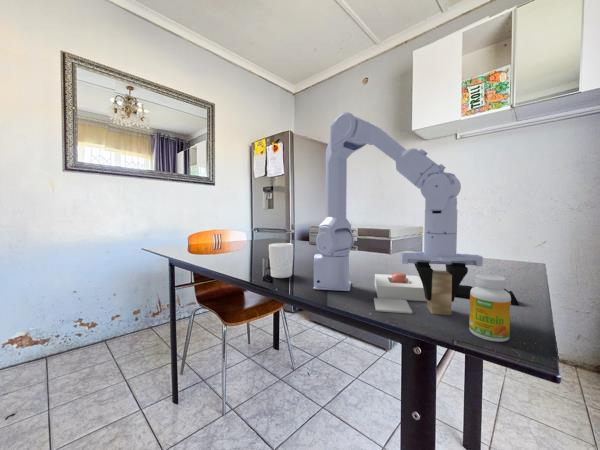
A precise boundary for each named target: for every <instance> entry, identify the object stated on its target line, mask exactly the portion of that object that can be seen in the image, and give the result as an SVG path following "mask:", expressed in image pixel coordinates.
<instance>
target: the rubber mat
mask: <svg viewBox="0 0 600 450" xmlns="http://www.w3.org/2000/svg"><path fill="white" fill-rule="evenodd" d="M373 303H374V308H375V312H381V313H382V312H383V313H395V314H410V315H411V314H412V315H413V310H412V308H411V306H410V305H409V303H408V300H402V299H385V298H378V297H374V298H373Z"/></svg>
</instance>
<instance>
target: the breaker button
mask: <svg viewBox="0 0 600 450" xmlns="http://www.w3.org/2000/svg"><path fill="white" fill-rule="evenodd" d="M391 275H392V283H405V284H406V275H407V274H406V273H402V272H393V273H392V274H391Z"/></svg>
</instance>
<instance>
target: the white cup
mask: <svg viewBox="0 0 600 450" xmlns="http://www.w3.org/2000/svg"><path fill="white" fill-rule="evenodd" d="M268 256H269V267H270V276H271V277H272V278H277V279H284V278H289V277H292V275H293V262H294V244H293V243H288V242H275V243H274V242H273V243H269V244H268Z"/></svg>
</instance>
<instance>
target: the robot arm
mask: <svg viewBox="0 0 600 450" xmlns="http://www.w3.org/2000/svg"><path fill="white" fill-rule="evenodd" d="M329 130H330V133H329V134H330V135H329V137H330V138H329V140H328V143H327V146H326V150H325V219H324V220H323V221H322V222H321V223H320V224H319V225H318V234H317V235H316V239H315V243H316V244H315V245H316V247H317V250H318V251H319V252H320V253H315V254H314V257H313V289H314V290H319V291H320V290H322V291H340V292H343V291H344V292H350V291H351V284H352V282H351V280H350V250H351V249H352V248H353V246H354V244H355V238H354V234H353V232H352V224H351V223H350V221H349V220H348V218H347V181H348V180H347V179H348V177H347V175H348V174H347V166H348V165H347V163H348V162H347V161H348V160H347V159H348V158H349V157H350V156H351V155H352V154H353V153H355V152H358V150H360V149H363V148H364V147H365V146H367V145H369V146H374V147H376V148H377V149H378V150H380V151H381V152H383V154H385V155H386V156H388V157H389V158H390V159H392V160H393V161H394V162H395V169H396V172H398V173H399V174H400V175H402V176H403V177H404V178H405V179H407V180H408V181H409V182H410V183H411V184H412V185H413V186H415V187H416V188H417V189H419V191H420V193H421V196H422V197H423V198H424V199H425V200H424V203H425V204H424V205H425V206H424V236H423V237H424V238H423V242H424V243H423V248H424V249H423V252H401V253H400V263H401V264H403V265H409V264H414V267H415V269H416V272H417V273H418V277H419V278H420V279H421V281H422V284H423V288H424V293H425V298H426V299H427V300H431V295H432V293H431V282H432V274H433V270H434V269H433V268H432V266H431V265H445V271H447V272H449V273H450V274H451V275H452V303H453V302H454V301H455V298H456V292H457V289H458V287H459V285H461V283H462V282H463V280H464V278H465V277H466V275H467V274H468V272H469V268H468V267H467V266H475V267H483V259H484V258H483V257H484V256H482V255H480V254H470V253H468V254H467V253H457V246H458V245H457V243H458V241H457V239H458V208H457V207H458V195H459V194H460V192H461V189H462V185H461V182H460V180H459V178H458V177H457V176H456V174H454V173H452V172H451V173H450V172H446V171H445V169H446V166H445V165H444V164H443V163H440V164H438V163H436V162H435V161H433V160H432V159H431V158H429V156H427V155H428V152H427V151H426V150H424V149H422V148H420V149H417V148H409V149H406V148H405V147H404V146H403V145H401V144H400V143H399V142H398V141H396V139H394V138H393V137H392V136H391V135H389V134H388V133H387V132H386V131H384V129H382V128H381V127H379V126H377V125H374V124H373V123H371V122H369V121H367V120H364V119H361V118H359V117H358V116H355V115H354V114H353V113H351V112H346V111H345V112H341V114H339V115H338V116H337V117H336V118H335V119H334V121H333V122H332V123H331V124H330V128H329Z"/></svg>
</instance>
